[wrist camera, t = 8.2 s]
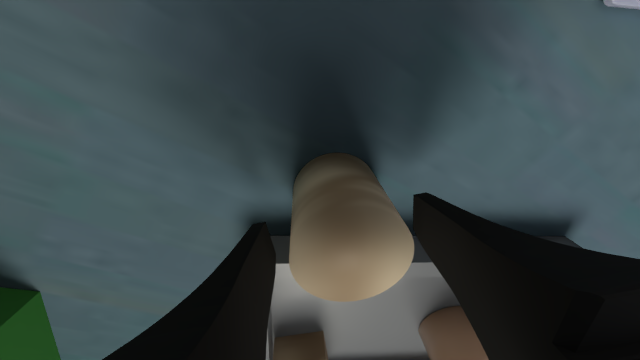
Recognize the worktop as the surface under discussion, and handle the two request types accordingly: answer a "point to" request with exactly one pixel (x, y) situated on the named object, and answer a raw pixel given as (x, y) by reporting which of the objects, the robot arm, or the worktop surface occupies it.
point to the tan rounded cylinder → (450, 336)
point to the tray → (363, 310)
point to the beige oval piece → (345, 231)
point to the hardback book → (25, 327)
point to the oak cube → (301, 347)
